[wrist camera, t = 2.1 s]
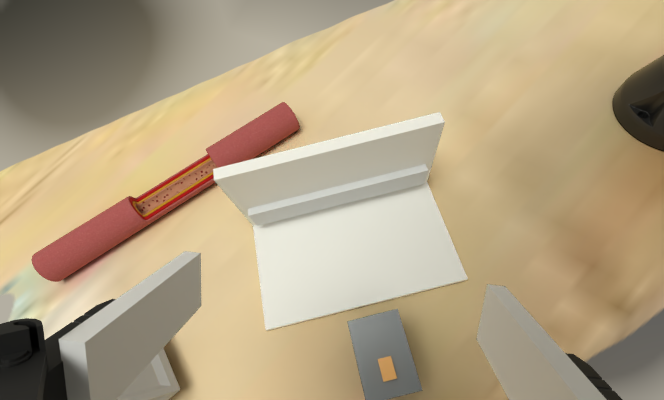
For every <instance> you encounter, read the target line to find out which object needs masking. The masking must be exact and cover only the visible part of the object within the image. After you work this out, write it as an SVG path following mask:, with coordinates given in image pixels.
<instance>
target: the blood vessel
mask: <svg viewBox="0 0 664 400" xmlns="http://www.w3.org/2000/svg"><path fill="white" fill-rule="evenodd" d="M299 128H300V126H299V123H298V120H297V118H296V116H295V114H294V113H293V111H292V110H291V109H290V107H289V106H288V105H287V104H286V103H284V102H282V103H280V104H279V105H277V106H276V107H274V108H272V109H271V110H269V111H267V112H266V113H264V114H262V115H261V116H259V117H258V118H256V119H254V120H253V121H251V122H249V123H248V124H246V125H244V126H243V127H241V128H240V129H238V130H236V131H235V132H233V133H231V134H230V135H228V136H226V137H225V138H223V139H222V140H220V141H218V142H217V143H215V144H213V145H212V146H210V147H208V148H207V149H206V151H207V153H208V154H207V155H206V156H204V157H203V158H201V159H199V160H198V161H196V162H194V163H193V164H191V165H190V166H188V167H186V168H185V169H183V170H181V171H180V172H178V173H177V174H175V175H173V176H172V177H170V178H168V179H167V180H165V181H164V182H162V183H160V184H159V185H157V186H155V187H154V188H152V189H151V190H149V191H147V192H146V193H144V194H142V195H141V196H139V197H137V198H133V197H131V196H129V197H127V198H125V199H123V200H122V201H120V202H118V203H117V204H115V205H114V206H112V207H110V208H109V209H107V210H105V211H104V212H102V213H100V214H99V215H97V216H96V217H94V218H92V219H91V220H89V221H87V222H86V223H84V224H82V225H81V226H79V227H78V228H76V229H74V230H73V231H71V232H69V233H68V234H66V235H64V236H63V237H61V238H60V239H58V240H56V241H55V242H53V243H51V244H50V245H48V246H46V247H45V248H43V249H42V250H40V251H38V252H37V253H35V254H34V255H33V256H32V264H33V266H34V268H35V270H36V271H37V272H38V273H39V274H40V275H41V276H42V277H44V278H45V279H47V280H50V281H54V282H58V281H61V280H63V279H64V278H66V277H67V276H69V275H70V274H72V273H74V272H75V271H77V270H78V269H80V268H81V267H83V266H85V265H86V264H88V263H89V262H91V261H92V260H94V259H96V258H97V257H99V256H100V255H102V254H103V253H105V252H107V251H108V250H110V249H111V248H113V247H114V246H116V245H118V244H119V243H121V242H122V241H124V240H125V239H127V238H129V237H130V236H132V235H133V234H135V233H136V232H138V231H140V230H141V229H143V228H144V227H146V226H147V225H149V224H151V223H152V222H154V221H155V220H157V219H158V218H160V217H162V216H163V215H165V214H166V213H168V212H169V211H171V210H173V209H174V208H176V207H177V206H179V205H180V204H182V203H184V202H185V201H187V200H188V199H190V198H191V197H193V196H195V195H196V194H198V193H199V192H201V191H202V190H204V189H206V188H207V187H209V186H210V185H212V184H213V183H215V181H214V174H213V169H215V168H219V167H223V166H227V165H231V164H235V163H239V162H243V161H247V160H251V159H253V158H254V157H256V156H257V155H259V154H261V153H262V152H264V151H265V150H267V149H268V148H270V147H272V146H273V145H275V144H276V143H278V142H279V141H281V140H283V139H284V138H286V137H287V136H289V135H290V134H292V133H294V132H295V131H297V130H298V129H299Z"/></svg>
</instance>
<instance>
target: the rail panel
mask: <svg viewBox="0 0 664 400" xmlns="http://www.w3.org/2000/svg"><path fill="white" fill-rule="evenodd" d="M444 123H445V121H444V119H443V117H442V115H441V113H440V112H438V113H434V114H430V115H426V116H422V117H418V118H414V119H410V120H406V121H402V122H398V123H394V124H390V125H386V126H382V127H378V128H374V129H370V130H366V131H362V132H358V133H354V134H350V135H346V136H342V137H338V138H334V139H330V140H327V141H323V142H319V143H315V144H311V145H307V146H303V147H299V148H295V149H291V150H287V151H283V152H279V153H275V154H271V155H267V156H263V157H259V158H255V159H251V160H247V161H243V162H239V163H235V164H231V165H227V166H223V167H219V168H215V169H213V174H214V181H215V182H216V183H217V184H218V186H219V187H220V188H221V189H222V190H223V191H224V193H225V194H226V195H227V196H228V197H229V198H230V200H231V201H232V202H233V203H234V204H235V205H236V207H237V208H238V209H239V210H240V211H241V212H242V214H243V215H244V216H245V217H246V218H247V219H248V221H249V222H250V223H251V224H252V225H253V230H254V238H255V246H256V254H257V263H258V271H259V279H260V288H261V296H262V304H263V312H264V321H265V329H266V331H269V330H273V329H277V328H281V327H285V326H289V325H293V324H296V323H300V322H304V321H308V320H312V319H316V318H320V317H324V316H328V315H332V314H336V313H340V312H344V311H348V310H352V309H356V308H360V307H364V306H368V305H372V304H375V303H379V302H383V301H387V300H391V299H395V298H399V297H403V296H407V295H411V294H415V293H419V292H423V291H427V290H431V289H435V288H439V287H443V286H447V285H450V284H454V283H458V282H462V281H466V280H467V279H468V278H467V276H466V273H465V271H464V268H463V266H462V264H461V261H460V259H459V257H458V254H457V252H456V249H455V247H454V245H453V242H452V240H451V238H450V235H449V233H448V230H447V228H446V226H445V223H444V221H443V218H442V216H441V214H440V211H439V209H438V207H437V204H436V202H435V199H434V197H433V195H432V192H431V190H430V188H429V185H428V183H427V180H428V177H429V174H430V170H431V167H432V164H433V160H434V157H435V154H436V150H437V147H438V143H439V140H440V137H441V133H442V130H443V127H444Z"/></svg>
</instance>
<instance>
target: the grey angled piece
mask: <svg viewBox="0 0 664 400" xmlns="http://www.w3.org/2000/svg"><path fill="white" fill-rule="evenodd" d="M179 390H180V387H179V385H178V382H177V380H176V377H175V375H174V373H173V370H172V368H171V365H170V363H169V360H168V358H167V356H166V353H165V351H164V348H163V349H162V350H161V351H160V352H159V353H158V354H157V355H156V356H155V358H154V359H153V360H152V361H151V362H150V363H149V364H148V365H147V366H146V367H145V369H144V370H143V371H142V372H141V373H140V374H139V375H138V376H137V377H136V379H135V380H134V381H133V382H132V383H131V384H130V385H129V386H128V387H127V388H126V390H125V391H124V392H123V393H122V394H121V395H120V396H119V397H118V398H117V400H169V399H170V398H171V397H172V396H173V395H175V394H176V393H177V392H178V391H179Z"/></svg>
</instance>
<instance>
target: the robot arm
mask: <svg viewBox="0 0 664 400" xmlns="http://www.w3.org/2000/svg"><path fill="white" fill-rule="evenodd" d="M613 109H614V113H615V115H616V117H617V119H618V121H619V122H620V123H621V125H622V126H623V127H624V128H625V129H626V130H627V131H628V132H629V133H630V134H632V135H633V136H634V137H636V138H637V139H639V140H640V141H642V142H644V143H646V144H647V145H650V146H652V147H654V148H657V149H660V150H663V151H664V55H663V56H661V57H660V58H658V59H656V60H655V61H653V62H652V63H650V64H648V65H647V66H645V67H643V68H642V69H640V70H639V71H637V72H635V73H634V74H632V75H631V76H630V77H629V78H628V79H627V80H626V81H625V82H624V83H623V84H622V85H621V86H620V88H619V89H618V90H617V91H616V93H615V95H614V98H613ZM200 307H201V253H196V252H187V251H185V252H183V253H182V254H180V255H179V256H177V257H176V258H175V259H173V260H172V261H170V262H169V263H167V264H166V265H164V266H163V267H162V268H160V269H159V270H157V271H156V272H154V273H153V274H152V275H150V276H149V277H147V278H146V279H144V280H143V281H142V282H140V283H139V284H137V285H136V286H134V287H133V288H132V289H130V290H129V291H127V292H126V293H124V294H123V295H121V296H120V297H119V298H117V299H111V300H109V301H106V302H104V303H102V304H99V305H97V306H95V307H94V308H92V309H91V310H89V311H88V312H86V313H85V314H84V316H83V315H82V316H80V317H79V318H77V319H76V320H74V322H71V323H70V324H68V325H67V326H65V327H64V328H62V329H61V330H59V331H58V332H56V333H55V334H53V335H52V336H50V337H49V338H47V339H46V340H45V339H44V332H43V325H42V322H41V321H39V320H37V319H19V320H13V321H10V322H6V323H2V324H0V400H117V398H118V397H119V396H120V395H121V394H122V393H123V392H124V391H125V390H126V388H127V387H128V386H129V385H130V384H131V383H132V382H133V381H134V380H135V379H136V377H137V376H138V375H139V374H140V373H141V372H142V371H143V370H144V369H145V367H146V366H147V365H148V364H149V363H150V362H151V361H152V360H153V359H154V358H155V356H156V355H157V354H158V353H159V352H160V351H161V350H162V349H163V348H164V346H165V345H166V344H167V343H168V342H169V341H170V340H171V339H172V338H173V337H174V335H175V334H176V333H177V332H178V331H179V330H180V329H181V328H182V327H183V325H184V324H185V323H186V322H187V321H188V320H189V319H190V318H191V317H192V316H193V314H194V313H195V312H196V311H197V310H198V309H199V308H200ZM477 341H478V343H479V345H480V347H481V349H482V351H483V352H484V354H485V356H486V358H487V360H488V362H489V364H490V365H491V367H492V369H493V371H494V373H495V375H496V377H497V378H498V380H499V382H500V384H501V386H502V388H503V390H504V392H505V393H506V395H507V397H508V399H509V400H622V399H621V398H620V397H619V396H618V395H617V393H616V392H614V391H612V388H611V387H610V386H609V385H608V384H607V383H606V382H605V381H604V380H602V378H601V377H600V376H599V375H598V374H597V372H596V371H595V370H594V369H593V368H592V367H591V366H590V365H588V364H587V363H585V362H584V361H583V360H581V359H580V358H578V357H577V356H575V355H574V354H567V353H564V351H563V350H562V349H561V348H560V347H559V346H558V345H557V344H556V343H555V341H554V340H553V339H552V338H551V337H550V336H549V335H548V334H547V332H546V331H545V330H544V329H543V328H542V327H541V326H540V325H539V324H538V322H537V321H536V320H535V319H534V318H533V317H532V316H531V315H530V314H529V312H528V311H527V310H526V309H525V308H524V307H523V306H522V305H521V303H520V302H519V301H518V300H517V299H516V298H515V297H514V296H513V295H512V293H511V292H510V291H509V290H508V289H507V288H506V287H505V286H498V285H489V284H487V288H486V293H485V298H484V303H483V308H482V313H481V318H480V323H479V328H478V333H477Z"/></svg>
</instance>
